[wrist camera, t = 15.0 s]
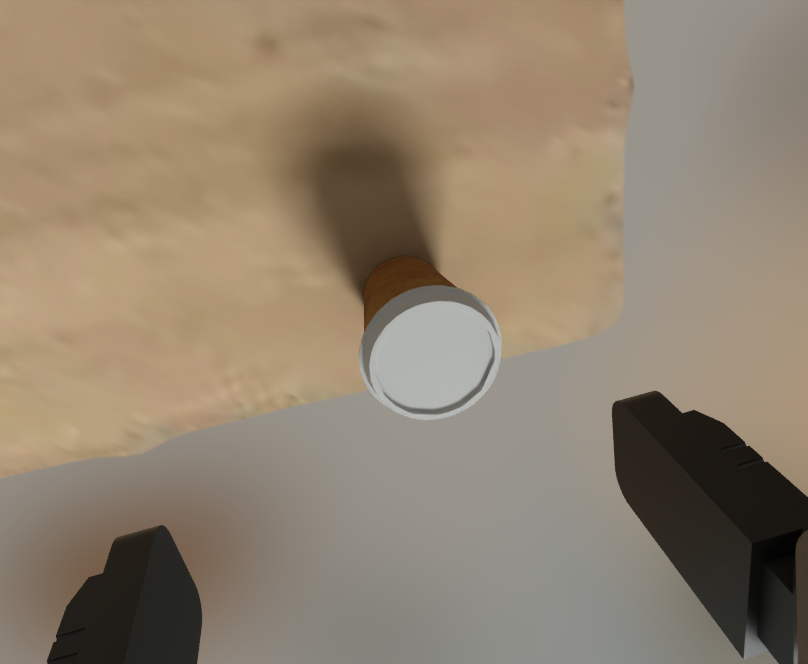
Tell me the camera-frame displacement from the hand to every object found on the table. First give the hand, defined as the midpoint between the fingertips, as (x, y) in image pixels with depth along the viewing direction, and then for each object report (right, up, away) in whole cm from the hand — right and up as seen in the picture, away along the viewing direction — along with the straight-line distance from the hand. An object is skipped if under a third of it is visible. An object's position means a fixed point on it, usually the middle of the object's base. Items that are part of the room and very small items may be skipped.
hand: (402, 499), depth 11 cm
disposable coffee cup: (0, +6, +40) cm, 41 cm away
